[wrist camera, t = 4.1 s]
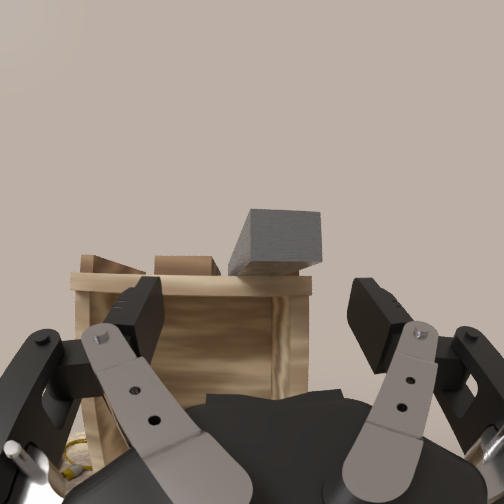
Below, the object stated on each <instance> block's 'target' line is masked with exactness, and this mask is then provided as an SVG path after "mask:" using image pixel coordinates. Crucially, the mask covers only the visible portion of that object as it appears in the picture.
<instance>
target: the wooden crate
mask: <svg viewBox="0 0 504 504" xmlns="http://www.w3.org/2000/svg"><path fill="white" fill-rule="evenodd" d="M141 276H159V277H160V279H161V284H162V293H163V302H164V310H165V319H164V325H163V328H162V331H161V334H160V337H159V340H158V343H157V346H156V349H155V352H154V355H153V358H152V361H151V364H150V367H151V368H152V369H153V371H154V372H155V374H156V375H157V376H158V378H159V379H160V380H161V382H162V383H163V384H164V386H165V387H166V388H167V389H168V391H169V392H170V393H171V395H172V396H173V397H174V398H175V400H176V401H177V402H178V403H179V405H180V406H181V407H182V408H183V410H184V409H186V408H189V407H191V406H195V405H199V404H204V403H206V394H242V395H247V396H253V397H259V398H265V399H271V400H279V399H284V398H288V397H292V396H295V395H299V394H303V393H307V392H308V361H309V355H308V354H309V295H312V276H299V270H298V271H295V272H293V273H290V274H287V275H284V276H221V273H220V271H219V269H218V267H217V265H216V263H215V262H214V260H213V258H212V256H155V269H154V275H146V273H145V272H143V271H140V270H136V269H134V268H131V267H128V266H125V265H121V264H119V263H116V262H113V261H110V260H106V259H104V258H101V257H98V256H95V255H81V268H80V273H77V272H76V273H75V272H71V278H70V280H71V281H70V290H75V291H76V292H75V332H76V340H77V339H81V335H82V333H83V332H84V331H85V330H86V329H87V328H89V327H90V326H93V325H95V324H100V323H103V321H104V319H105V318H106V316H107V315H108V313H109V311H110V310H111V308H112V307H113V305H114V303H115V302H116V301H117V299H118V297H119V296H120V294H121V293H122V292H123V291H125V290H126V289H128V288H129V287H135V286H136V284H137V283H138V281H139V279H140V278H141ZM81 407H82V414H83V421H84V427H85V433H86V439H87V444H88V449H89V454H90V459H91V463H92V468H93V472H94V474H95V473H96V472H98V471H99V470H101V469H102V468H103V467H105V466H106V465H108V464H109V463H110V462H112V461H113V460H115V459H116V458H117V457H119V456H120V455H121V454H123V453H124V452H125V451H127V450H128V449H129V448H128V446H127V445H126V443H125V441H124V439H123V437H122V435H121V433H120V431H119V429H118V428H117V426H116V424H115V422H114V420H113V418H112V416H111V414H110V412H109V410H108V408H107V406H106V404H105V402H104V400H103V398H102V396H101V397H92V398H82V401H81Z"/></svg>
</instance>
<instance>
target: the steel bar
mask: <svg viewBox="0 0 504 504" xmlns="http://www.w3.org/2000/svg"><path fill="white" fill-rule="evenodd" d="M321 262H322V239H321V218H320V212H310V211H289V210H266V209H250V211H249V214H248V216H247V219H246V221H245V224H244V226H243V229H242V231H241V234H240V236H239V239H238V241H237V244H236V246H235V249H234V251H233V254H232V256H231V259H230V261H229V264H228V276H284V275H287V274H290V273H293V272H295V271H298V270H301V269H304V268H307V267H309V266H312V265H315V264H318V263H321Z"/></svg>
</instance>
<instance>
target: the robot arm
mask: <svg viewBox="0 0 504 504" xmlns="http://www.w3.org/2000/svg"><path fill="white" fill-rule="evenodd" d="M164 319H165V310H164V302H163V293H162V284H161V279H160V277H159V276H141V278H140V279H139V281H138V283H137V284H136V286H135V287H129V288H128V289H126V290H125V291H123V292H122V293H121V294H120V296H119V297H118V299H117V301H116V302H115V303H114V305H113V307H112V308H111V310H110V311H109V313H108V315H107V316H106V318H105V319H104V321H103V323H100V324H95V325H93V326H90V327H89V328H87V329H86V330H85V331H84V332H83V333H82V335H81V339H77V340H68V341H61V338H60V335H59V333H58V332H57V331H55V330H53V329H42V330H39V331H36V332H34V333H32V334H31V335H30V336H29V337H28V338H27V339H26V341H25V342H24V344H23V345H22V346H21V348H20V349H19V351H18V352H17V354H16V355H15V356H14V358H13V359H12V361H11V363H10V364H9V365H8V367H7V369H6V370H5V372H4V373H3V375H2V376H1V378H0V504H504V358H503V357H502V356H501V355H500V353H499V352H498V351H497V350H496V349H495V348H494V346H493V345H492V344H491V343H490V342H489V340H488V339H487V338H486V337H485V336H484V335H483V334H482V333H481V332H480V331H478V330H477V329H475V328H472V327H468V326H462V327H459V328H458V329H457V330H456V332H455V335H454V337H453V338H452V337H441V336H438V332H437V330H436V329H435V328H434V327H433V326H431V325H429V324H427V323H425V322H420V321H414V320H413V319H412V318H411V317H410V315H409V314H408V313H407V312H406V310H405V309H404V308H403V307H402V306H401V304H400V303H399V302H397V300H396V298H395V297H394V296H393V295H392V294H391V293H389V292H388V291H386V290H385V289H383V288H380V286H379V285H378V284H377V283H376V282H375V280H374V279H373V278H355V279H354V281H353V284H352V289H351V294H350V299H349V305H348V310H347V320H348V324H349V326H350V328H351V330H352V331H353V333H354V335H355V337H356V339H357V341H358V343H359V345H360V347H361V349H362V351H363V352H364V355H365V357H366V358H367V361H368V363H369V365H370V366H371V368H372V370H373V372H374V374H380V373H386V377H385V379H384V381H383V384H382V386H381V389H380V391H379V393H378V396H377V398H376V400H375V402H374V405H373V406H371V405H369V404H367V403H364V402H361V401H358V400H354V399H348V398H344V397H343V394H342V391H341V389H334V390H324V391H312V392H307V393H303V394H299V395H295V396H292V397H288V398H284V399H279V400H271V399H265V398H259V397H253V396H247V395H242V394H206V403H204V404H199V405H195V406H191V407H189V408H186V409H184V410H183V408H182V407H181V406H180V405H179V403H178V402H177V401H176V400H175V398H174V397H173V396H172V395H171V393H170V392H169V391H168V389H167V388H166V387H165V386H164V384H163V383H162V382H161V380H160V379H159V378H158V376H157V375H156V374H155V372H154V371H153V369H152V368H151V367H150V364H151V361H152V358H153V355H154V352H155V349H156V346H157V343H158V340H159V337H160V334H161V331H162V328H163V325H164ZM470 374H471V375H472V376H473V378H474V379H475V380H476V382H477V385H478V392H477V395H476V397H474V396H473V394H472V392H471V391H470V389H469V388H468V386H467V385H466V381H467V379H468V378H469V376H470ZM45 388H46V390H45V392H44V394H43V391H44V389H45ZM433 393H434V395H435V397H436V399H437V401H438V402H439V404H440V406H441V408H442V410H443V412H444V414H445V416H446V418H447V420H448V422H449V424H450V426H451V428H452V430H453V432H454V434H455V436H456V438H457V440H458V442H459V444H460V446H461V448H462V451H463V452H464V455H465V458H464V459H463V458H461V457H459V456H457V455H456V454H454V453H452V452H450V451H448V450H446V449H445V448H443V447H441V446H439V445H437V444H436V443H434V442H432V441H430V440H429V439H427V438H425V437H423V432H424V428H425V424H426V420H427V416H428V412H429V408H430V404H431V399H432V394H433ZM42 394H43V396H42ZM101 396H102V398H103V400H104V402H105V404H106V406H107V408H108V410H109V412H110V414H111V416H112V418H113V420H114V422H115V424H116V426H117V428H118V429H119V431H120V433H121V435H122V437H123V439H124V441H125V443H126V445H127V446H128V448H129V449H128V450H127V451H125V452H124V453H123V454H121V455H120V456H119V457H117V458H116V459H115V460H113V461H112V462H110V463H109V464H108V465H106V466H105V467H103V468H102V469H101V470H99V471H98V472H96V473H95V474H93V475H92V476H91V477H89V478H88V479H86V480H85V481H83V482H82V483H80V484H79V485H77V486H76V487H75V488H73V489H72V490H71V491H70V492H69V493H68V494H67V495H66V496H65V481H64V478H63V476H62V474H61V473H60V472H59V471H58V468H59V465H60V461H61V458H62V455H63V452H64V449H65V446H66V443H67V440H68V437H69V434H70V431H71V428H72V425H73V422H74V419H75V417H76V414H77V411H78V409H79V405H80V403H81V401H82V398H92V397H101Z"/></svg>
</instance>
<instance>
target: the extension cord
mask: <svg viewBox="0 0 504 504" xmlns="http://www.w3.org/2000/svg"><path fill="white" fill-rule="evenodd" d="M84 440H87V439H79V440H75V441H72V442H69V443H68V444H67V445H66V446H65V449H66V448H67V447H68V446H69V445H72V444H77V443H87V441H84ZM77 441H81V442H77ZM65 449H64V452H63V454H64V456H65V458H66V459H67V460H68V461H69V462H70V463H71V464H73V465H74V466H72V465H71V467H69V468H67V469H66V470H65V471H63V472H61V474H62V476H63V478H66V479H67V480H68V481H69V480H70V479H71V478H72V477H73V478H75V477H76V476H77V475H79V474H80V473H81V472H82V471H83V469H86V470H91V471H93V469H90V468H92V466H81V465H77V464H74V463H73V462H71V461H70V460H69V459H68V458H67V457H66V455H65ZM61 460H62V458H61ZM60 464H61V461H60ZM59 467H60V465H59ZM58 469H59V468H58Z"/></svg>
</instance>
